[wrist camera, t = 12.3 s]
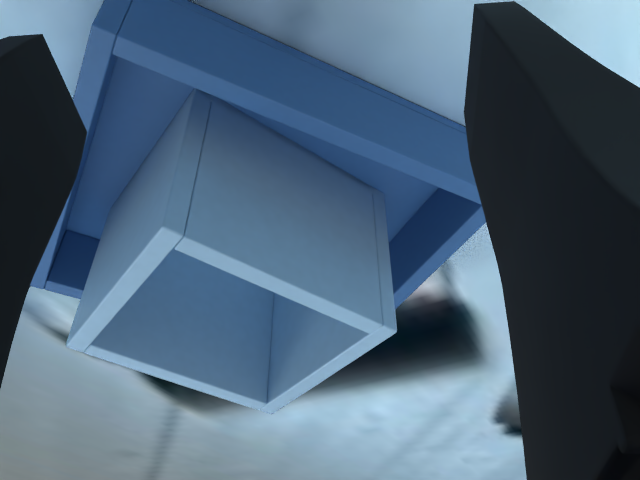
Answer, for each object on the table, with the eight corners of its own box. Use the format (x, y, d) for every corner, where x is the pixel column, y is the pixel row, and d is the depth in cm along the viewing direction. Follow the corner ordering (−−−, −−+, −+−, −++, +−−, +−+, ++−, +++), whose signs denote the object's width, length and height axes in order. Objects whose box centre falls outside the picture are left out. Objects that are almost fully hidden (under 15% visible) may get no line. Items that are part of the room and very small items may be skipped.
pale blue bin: (109, 209, 27) (64, 347, 22) (196, 85, 22) (162, 226, 17) (279, 285, 31) (272, 415, 26) (384, 193, 26) (398, 332, 21)
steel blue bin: (50, 225, 28) (26, 285, 26) (119, -32, 19) (92, 24, 17) (334, 311, 33) (335, 367, 31) (492, 138, 24) (510, 199, 22)
